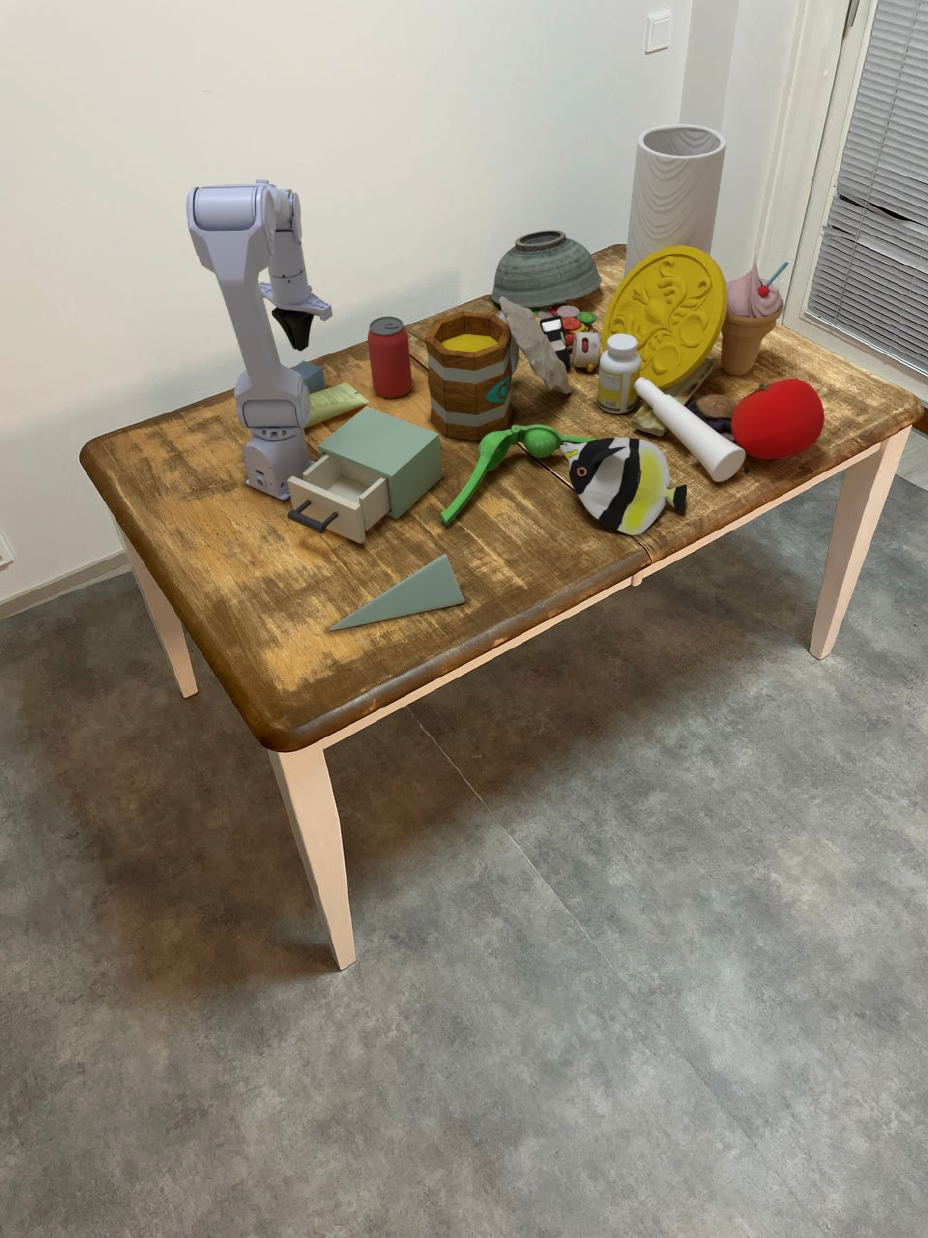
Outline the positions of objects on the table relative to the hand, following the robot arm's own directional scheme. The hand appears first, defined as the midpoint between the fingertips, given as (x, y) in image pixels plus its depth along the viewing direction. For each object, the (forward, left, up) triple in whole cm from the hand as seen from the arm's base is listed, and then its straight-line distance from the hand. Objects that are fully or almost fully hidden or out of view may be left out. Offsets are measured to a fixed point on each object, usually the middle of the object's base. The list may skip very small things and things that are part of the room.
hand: (300, 347), depth 159 cm
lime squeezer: (+1, -44, -8) cm, 45 cm away
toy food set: (+37, -27, -8) cm, 47 cm away
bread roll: (+27, -62, -8) cm, 68 cm away
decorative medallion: (+35, -48, +1) cm, 60 cm away
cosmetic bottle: (+14, -70, -5) cm, 72 cm away
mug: (+11, -28, -8) cm, 31 cm away
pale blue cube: (0, 0, -8) cm, 8 cm away
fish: (+8, -56, -1) cm, 57 cm away
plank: (+29, -52, -8) cm, 60 cm away
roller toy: (+31, -36, -8) cm, 48 cm away
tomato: (+23, -76, -7) cm, 79 cm away
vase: (+50, -41, -8) cm, 66 cm away
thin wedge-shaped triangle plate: (-34, -45, -9) cm, 57 cm away
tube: (-16, -3, -6) cm, 17 cm away
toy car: (+30, -31, -7) cm, 44 cm away
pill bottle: (+23, -46, -9) cm, 53 cm away
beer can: (+8, -12, -9) cm, 17 cm away
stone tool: (+23, -39, -8) cm, 46 cm away
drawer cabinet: (-13, -26, -8) cm, 30 cm away
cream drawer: (-23, -26, -8) cm, 36 cm away
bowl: (+49, -16, +3) cm, 51 cm away
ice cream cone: (+43, -59, -8) cm, 73 cm away
